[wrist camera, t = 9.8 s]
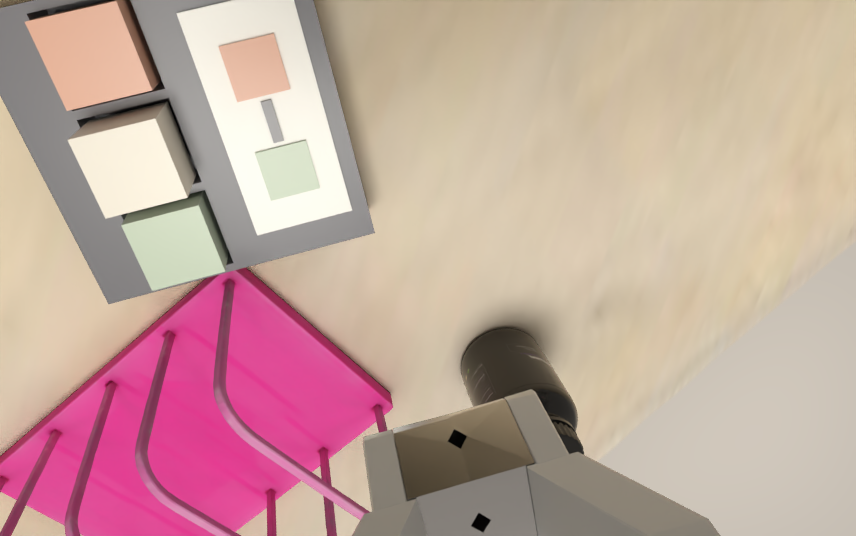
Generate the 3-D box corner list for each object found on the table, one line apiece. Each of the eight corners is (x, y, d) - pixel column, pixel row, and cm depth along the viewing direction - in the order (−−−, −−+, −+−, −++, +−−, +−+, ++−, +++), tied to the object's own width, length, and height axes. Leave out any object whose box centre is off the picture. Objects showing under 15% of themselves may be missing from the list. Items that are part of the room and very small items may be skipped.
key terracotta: (133, -5, 35) (116, 0, 31) (164, 76, 37) (152, 90, 33) (50, 13, 34) (24, 21, 31) (87, 94, 36) (66, 111, 33)
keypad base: (296, -59, 36) (298, -60, 33) (367, 210, 45) (375, 235, 41) (-8, 9, 35) (-45, 18, 31) (122, 274, 43) (106, 308, 39)
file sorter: (392, 392, 52) (431, 552, 39) (174, 564, 56) (138, 766, 42) (231, 253, 44) (209, 392, 31) (-11, 464, 48) (-130, 674, 34)
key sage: (205, 182, 40) (198, 205, 36) (230, 244, 42) (225, 271, 39) (135, 200, 40) (121, 225, 36) (163, 261, 42) (152, 291, 38)
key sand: (167, 101, 36) (155, 118, 32) (196, 174, 38) (187, 197, 35) (88, 120, 36) (67, 140, 32) (122, 193, 38) (105, 218, 34)
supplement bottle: (544, 323, 52) (610, 419, 42) (531, 391, 55) (590, 497, 44) (463, 325, 51) (510, 426, 40) (453, 396, 54) (495, 506, 43)
